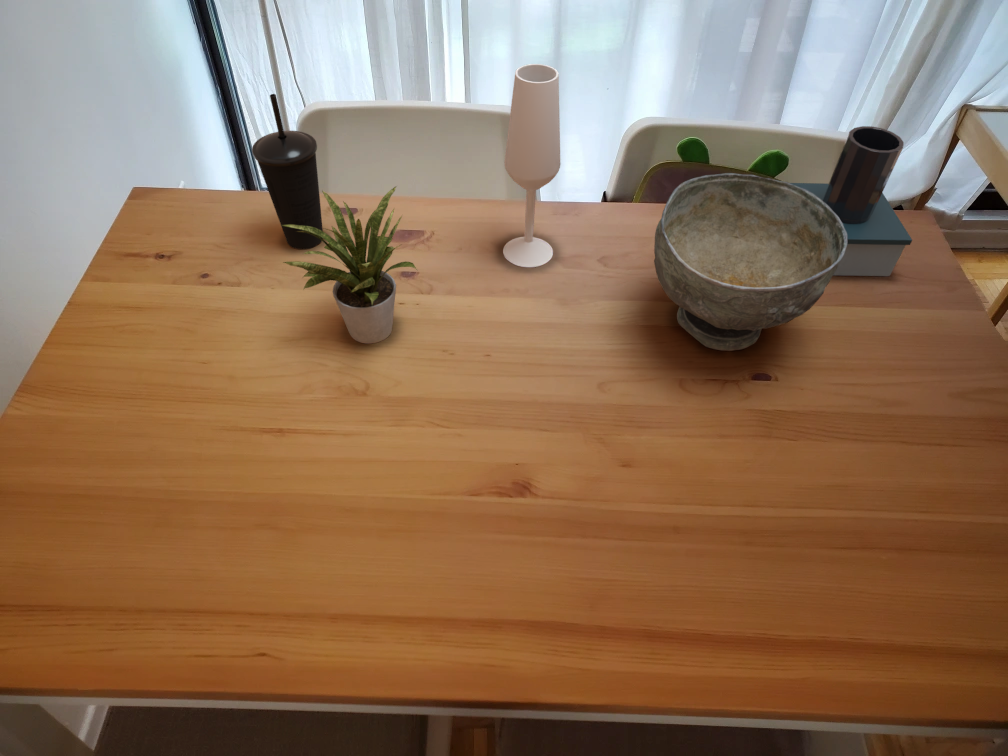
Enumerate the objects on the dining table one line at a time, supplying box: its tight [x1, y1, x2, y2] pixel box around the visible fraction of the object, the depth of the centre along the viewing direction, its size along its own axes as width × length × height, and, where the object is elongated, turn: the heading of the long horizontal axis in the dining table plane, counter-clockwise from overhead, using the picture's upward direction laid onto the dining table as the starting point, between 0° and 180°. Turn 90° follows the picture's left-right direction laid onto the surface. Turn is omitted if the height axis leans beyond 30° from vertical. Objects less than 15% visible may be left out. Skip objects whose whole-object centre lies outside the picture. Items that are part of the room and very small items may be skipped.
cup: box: [822, 125, 905, 224], centre depth 89 cm, size 6×6×10 cm
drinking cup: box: [251, 93, 324, 250], centre depth 90 cm, size 8×8×20 cm
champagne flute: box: [502, 63, 561, 268], centre depth 87 cm, size 7×7×24 cm
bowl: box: [653, 172, 847, 352], centre depth 81 cm, size 20×19×15 cm
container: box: [789, 182, 913, 277], centre depth 95 cm, size 13×13×6 cm
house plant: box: [282, 186, 419, 344], centre depth 80 cm, size 14×14×16 cm
